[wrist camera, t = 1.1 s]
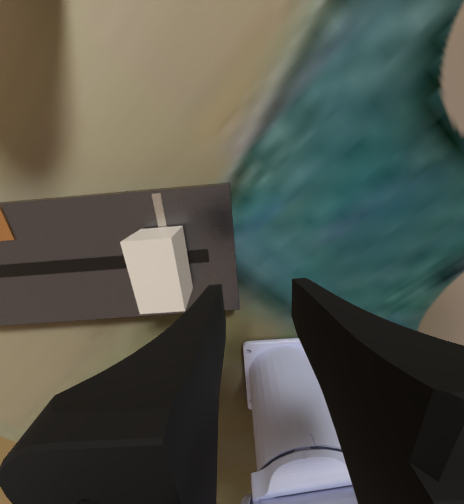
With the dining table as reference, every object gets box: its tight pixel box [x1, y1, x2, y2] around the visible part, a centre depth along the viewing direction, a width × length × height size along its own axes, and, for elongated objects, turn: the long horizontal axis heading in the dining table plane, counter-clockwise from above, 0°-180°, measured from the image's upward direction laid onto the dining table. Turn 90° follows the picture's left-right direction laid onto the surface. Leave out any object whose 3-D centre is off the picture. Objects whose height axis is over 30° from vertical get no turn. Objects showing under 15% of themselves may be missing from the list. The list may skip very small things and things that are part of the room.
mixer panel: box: [0, 183, 240, 326], centre depth 17 cm, size 10×24×2 cm, turn 95°
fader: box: [120, 226, 193, 314], centre depth 15 cm, size 5×3×3 cm, turn 5°
